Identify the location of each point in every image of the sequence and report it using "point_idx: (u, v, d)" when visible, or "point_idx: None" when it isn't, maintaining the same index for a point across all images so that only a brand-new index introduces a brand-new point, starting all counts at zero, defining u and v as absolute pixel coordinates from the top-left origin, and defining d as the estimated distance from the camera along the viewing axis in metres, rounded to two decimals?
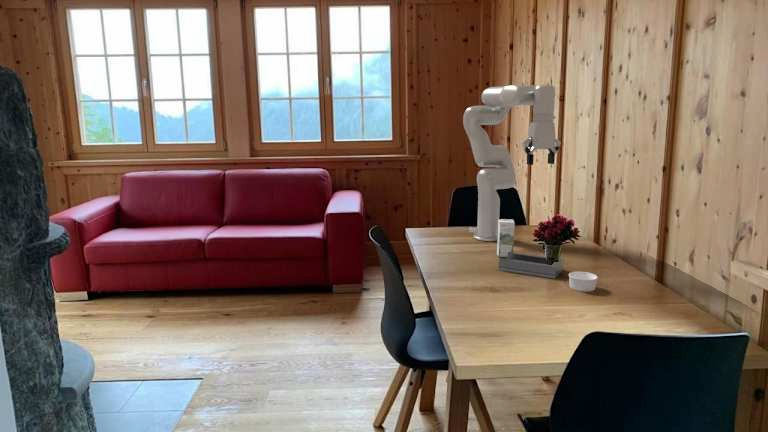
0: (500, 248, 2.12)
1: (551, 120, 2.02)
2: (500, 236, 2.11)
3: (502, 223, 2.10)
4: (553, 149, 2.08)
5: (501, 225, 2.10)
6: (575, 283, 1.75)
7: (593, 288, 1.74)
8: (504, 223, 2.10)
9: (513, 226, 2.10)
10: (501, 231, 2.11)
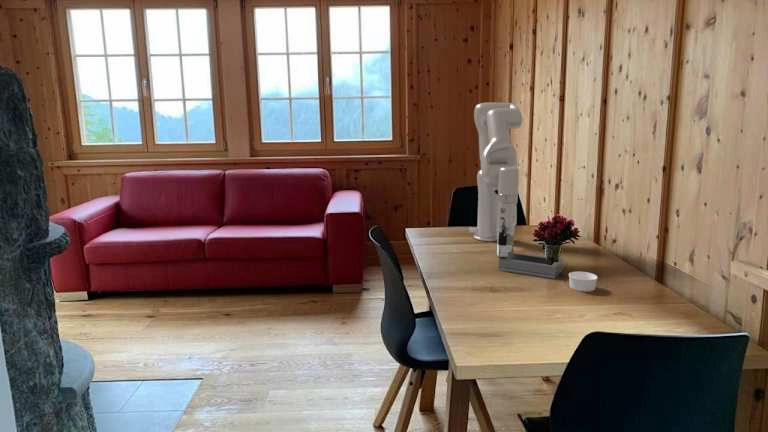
0: (500, 248, 2.12)
1: None
2: None
3: None
4: None
5: None
6: (575, 283, 1.75)
7: (593, 288, 1.74)
8: None
9: (513, 226, 2.10)
10: None
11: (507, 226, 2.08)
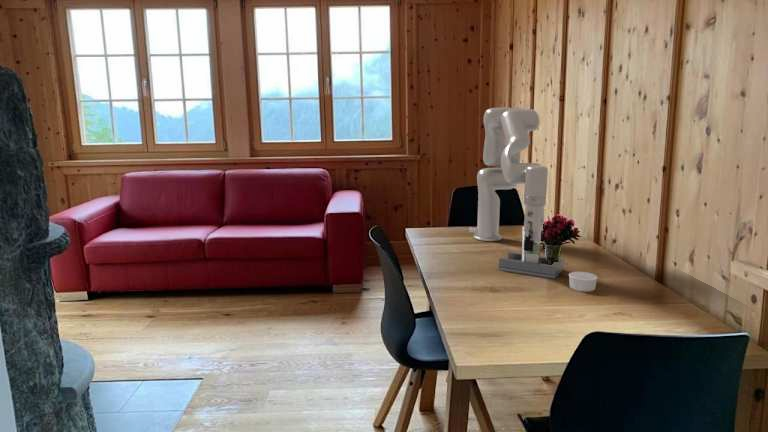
0: (525, 258, 1.94)
1: (524, 201, 1.93)
2: None
3: None
4: None
5: None
6: (575, 283, 1.75)
7: (593, 288, 1.74)
8: None
9: (539, 234, 1.92)
10: None
11: (535, 231, 1.89)
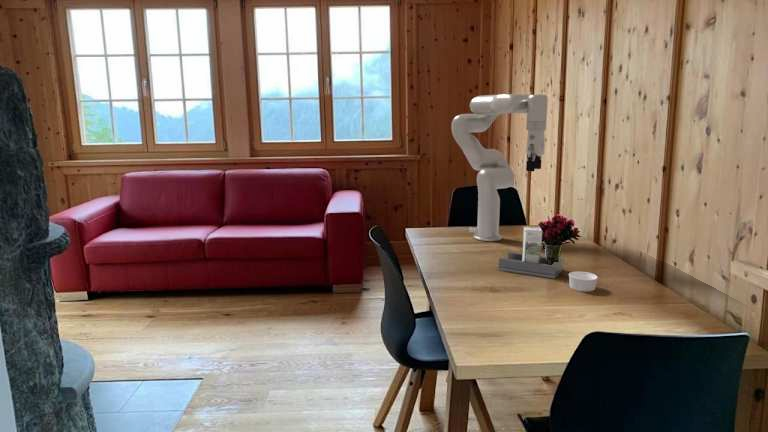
0: (526, 258, 1.94)
1: (526, 127, 2.15)
2: (526, 245, 1.93)
3: (528, 231, 1.92)
4: None
5: (527, 233, 1.92)
6: (575, 283, 1.75)
7: (593, 288, 1.74)
8: (530, 231, 1.92)
9: (540, 234, 1.92)
10: (527, 240, 1.93)
11: (536, 152, 2.10)
